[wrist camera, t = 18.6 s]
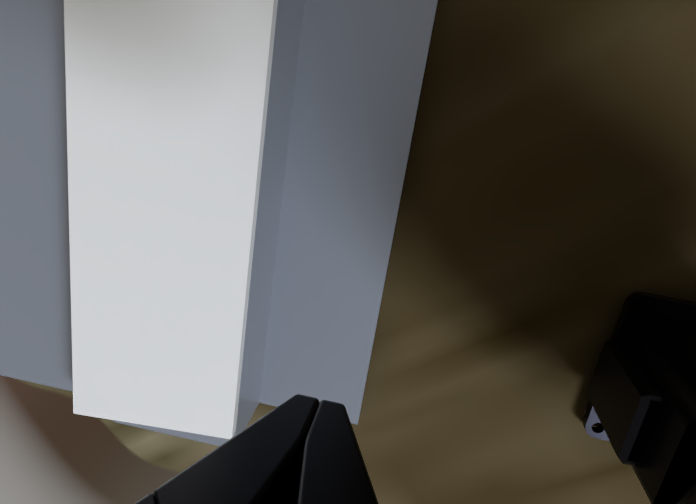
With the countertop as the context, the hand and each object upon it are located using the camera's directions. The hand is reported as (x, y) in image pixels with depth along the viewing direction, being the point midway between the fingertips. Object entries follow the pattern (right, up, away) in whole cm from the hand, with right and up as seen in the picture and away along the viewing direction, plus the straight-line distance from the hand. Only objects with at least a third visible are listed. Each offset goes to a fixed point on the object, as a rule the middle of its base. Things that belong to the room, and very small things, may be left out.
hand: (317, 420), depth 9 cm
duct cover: (-5, +8, +7) cm, 12 cm away
